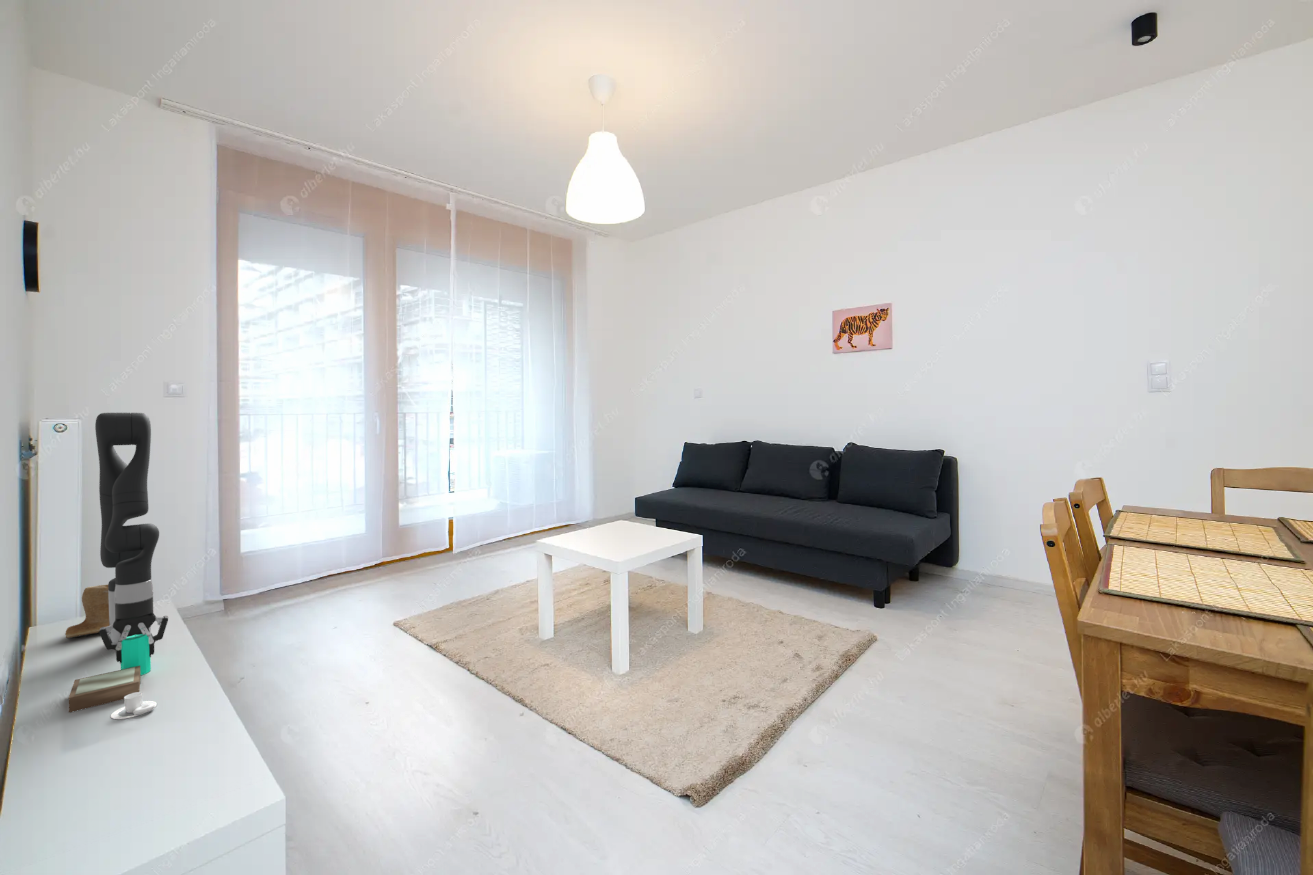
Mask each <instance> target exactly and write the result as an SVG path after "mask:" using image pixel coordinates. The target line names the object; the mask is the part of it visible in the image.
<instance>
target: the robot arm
mask: <svg viewBox="0 0 1313 875" xmlns="http://www.w3.org/2000/svg"><path fill="white" fill-rule="evenodd" d="M94 428H95V438H96V445H97V454H98V464H99V483H98V484H99V485H98V488H99V490H98V491H99V492H98V493H99V508H100V517H101V531H100V532H101V534H100V550H99V551H100V552H99V553H100V554H99V556H100V562H101V564H102V566H103V567H104V568H108V569H114V568H115V572H114V574H115V575H114V576H115V577H114V578H112V579H111V580H109V581H108V583H107V584H108V596H109V626H107V627H101V628H100V631H99V633H98V634H99V635H100V638H101V640H102V643H103V645H104V647H105V649H106V651H107V650H108V651H110V650H114V651H115V660H116V662H117V663H118V662H119V664H121V663H122V652H121V649H122V643H121V642H122V641H123V640H126V638H127V637H129V636H133V635H140V634H143V635H147V637H149V656H150V657H151V658H152V655H154V654H155V642H158V641H162V639H163V638H164V635H165V632H166V628H167V625H168V621H169V616H168V615H164V616H156V615H155V613H154V587H153V581H152V560H153V556H154V552H155V549H156V547H157V543H158V542H159V539H160V530H159V528H158V526H157V525H155V524H153V523H140V524H139V523H138V524H130V525H129V524H128V525H124V524H126V522H127V521H128V520H132V519H135V518H136V519H137V518H138V517H142V516H145V515H147V514H148V513H149V492H148V474H149V466H150V455H151V443H152V442H151V441H152V426H151V420H150V417H149V415H148V414H146V413H145V412H102V413H99V414H98V415H97V416H96V418H95V427H94ZM131 445H132V446H135V450H134V451H135V452H134V454H133V456H132V459H131V460H130V461H129V463H128V464H127V463H126V462H124V460H123V459H122V458H121V457H120V456H119V454H118V452H116V449H115V447H114V446H131ZM155 622H157V626H159V628H158V631H157V634H156V635H153V634H152V625H153V624H155Z"/></svg>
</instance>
